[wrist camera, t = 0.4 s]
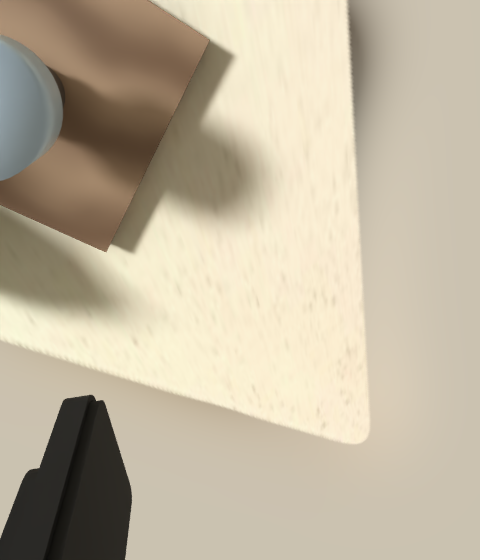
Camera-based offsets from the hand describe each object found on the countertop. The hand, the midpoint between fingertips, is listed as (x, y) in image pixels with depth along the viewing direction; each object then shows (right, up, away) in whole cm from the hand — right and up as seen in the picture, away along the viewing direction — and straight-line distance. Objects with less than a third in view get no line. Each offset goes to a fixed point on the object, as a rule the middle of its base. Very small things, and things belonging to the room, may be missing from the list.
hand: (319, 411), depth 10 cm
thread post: (-16, +17, +24) cm, 34 cm away
